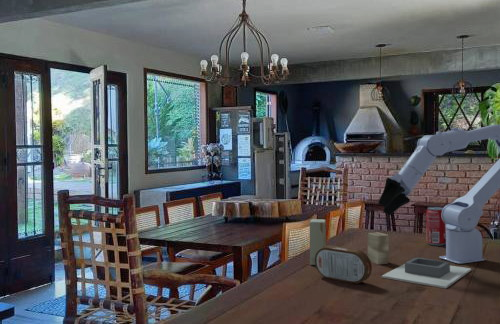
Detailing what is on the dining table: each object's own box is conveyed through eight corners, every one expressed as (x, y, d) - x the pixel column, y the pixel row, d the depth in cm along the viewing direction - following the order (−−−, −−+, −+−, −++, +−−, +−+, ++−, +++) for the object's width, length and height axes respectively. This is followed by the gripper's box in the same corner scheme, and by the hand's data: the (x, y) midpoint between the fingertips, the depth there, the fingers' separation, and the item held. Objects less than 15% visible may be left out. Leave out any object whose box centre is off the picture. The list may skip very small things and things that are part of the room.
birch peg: (378, 259, 148) (377, 232, 148) (388, 263, 144) (388, 235, 143) (367, 260, 147) (367, 233, 147) (377, 264, 142) (377, 236, 142)
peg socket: (412, 261, 145) (412, 251, 144) (471, 270, 134) (471, 259, 134) (381, 277, 129) (381, 265, 129) (445, 288, 119) (445, 275, 119)
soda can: (424, 244, 166) (424, 208, 166) (428, 241, 172) (428, 206, 171) (444, 246, 163) (444, 209, 163) (448, 243, 169) (448, 207, 168)
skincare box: (325, 266, 142) (324, 222, 141) (309, 265, 143) (309, 222, 142) (326, 260, 148) (326, 218, 147) (311, 260, 149) (311, 218, 148)
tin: (372, 284, 124) (372, 249, 123) (366, 287, 121) (366, 252, 121) (319, 274, 133) (319, 242, 133) (313, 277, 131) (312, 244, 131)
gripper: (404, 173, 150) (377, 209, 150) (396, 154, 138) (366, 193, 137) (425, 185, 147) (397, 222, 146) (419, 166, 134) (388, 207, 134)
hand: (383, 209), depth 141 cm, fingers open, 7 cm apart
